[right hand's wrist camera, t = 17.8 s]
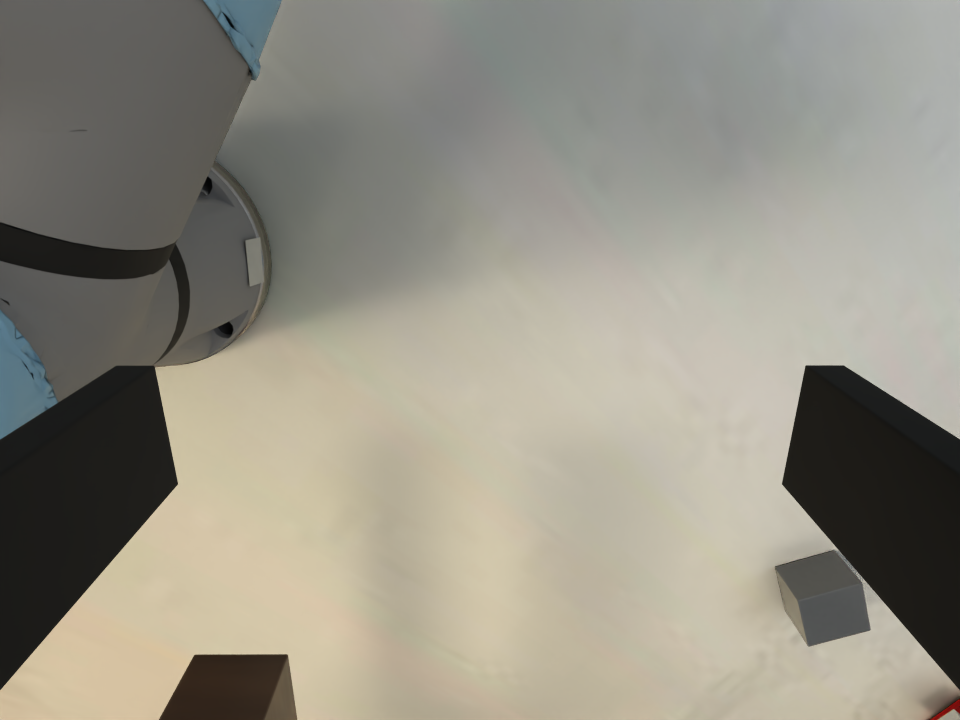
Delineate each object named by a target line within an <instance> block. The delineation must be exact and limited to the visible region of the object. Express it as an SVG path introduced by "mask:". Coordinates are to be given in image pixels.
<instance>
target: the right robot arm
mask: <svg viewBox="0 0 960 720" xmlns="http://www.w3.org/2000/svg"><path fill="white" fill-rule="evenodd" d="M281 1H282V0H0V690H1V689H2V687H3V686H4V685H5V684H6V683H7V682H8V680H9V679H10V678H11V677H12V676H13V675H14V674H15V672H16V671H17V670H18V669H19V668H20V667H21V665H22V664H23V663H24V662H25V661H26V660H27V658H28V657H29V656H30V655H31V654H32V653H33V651H34V650H35V649H36V648H37V647H38V646H39V645H40V643H41V642H42V641H43V640H44V639H45V638H46V636H47V635H48V634H49V633H50V632H51V631H52V629H53V628H54V627H55V626H56V625H57V624H58V623H59V621H60V620H61V619H62V618H63V617H64V616H65V614H66V613H67V612H68V611H69V610H70V609H71V607H72V606H73V605H74V604H75V603H76V602H77V601H78V599H79V598H80V597H81V596H82V595H83V594H84V592H85V591H86V590H87V589H88V588H89V587H90V585H91V584H92V583H93V582H94V581H95V580H96V579H97V577H98V576H99V575H100V574H101V573H102V572H103V570H104V569H105V568H106V567H107V566H108V565H109V563H110V562H111V561H112V560H113V559H114V558H115V556H116V555H117V554H118V553H119V552H120V551H121V550H122V548H123V547H124V546H125V545H126V544H127V543H128V541H129V540H130V539H131V538H132V537H133V536H134V534H135V533H136V532H137V531H138V530H139V529H140V528H141V526H142V525H143V524H144V523H145V522H146V521H147V519H148V518H149V517H150V516H151V515H152V514H153V512H154V511H155V510H156V509H157V508H158V507H159V506H160V504H161V503H162V502H163V501H164V500H165V499H166V497H167V496H168V495H169V494H170V493H171V492H172V490H173V489H174V488H175V487H176V486H177V485H178V482H177V477H176V472H175V467H174V462H173V457H172V452H171V447H170V442H169V437H168V432H167V427H166V422H165V417H164V412H163V407H162V402H161V397H160V392H159V387H158V381H157V376H156V371H155V367H163V366H172V365H182V364H189V363H193V362H197V361H200V360H203V359H206V358H208V357H210V356H212V355H214V354H216V353H218V352H220V351H221V350H223V349H224V348H226V347H227V346H228V345H230V344H231V343H232V342H233V341H234V340H236V339H237V338H238V337H239V336H240V335H242V334H243V333H244V332H245V331H246V330H247V329H248V328H249V327H250V325H251V324H252V323H253V322H254V320H255V319H256V317H257V316H258V314H259V312H260V311H261V308H262V306H263V304H264V302H265V299H266V296H267V293H268V289H269V285H270V278H271V252H270V246H269V241H268V237H267V233H266V230H265V227H264V225H263V222H262V219H261V217H260V215H259V213H258V211H257V209H256V207H255V206H254V204H253V202H252V200H251V199H250V197H249V196H248V194H247V193H246V192H245V190H244V189H243V188H242V187H241V185H240V184H239V183H238V182H237V181H236V179H235V178H234V177H233V176H232V175H231V174H230V173H229V172H228V171H226V170H225V169H224V168H223V167H222V166H221V165H219V164H218V163H217V162H215V158H216V156H217V154H218V152H219V150H220V147H221V145H222V143H223V141H224V139H225V136H226V134H227V132H228V130H229V127H230V125H231V123H232V121H233V119H234V116H235V114H236V112H237V110H238V108H239V105H240V103H241V101H242V99H243V97H244V94H245V92H246V90H247V88H248V86H249V83H250V81H251V79H252V80H256V79H257V77H258V75H259V73H260V67H261V66H260V63H259V58H260V55H261V53H262V50H263V47H264V45H265V42H266V40H267V37H268V34H269V32H270V29H271V27H272V24H273V22H274V19H275V17H276V14H277V11H278V9H279V6H280V4H281ZM782 485H783V486H784V487H785V488H786V489H787V490H788V492H789V493H790V494H791V495H792V496H793V497H794V499H795V500H796V501H797V502H798V503H799V504H800V506H801V507H802V508H803V509H804V510H805V511H806V512H807V514H808V515H809V516H810V517H811V518H812V519H813V521H814V522H815V523H816V524H817V525H818V526H819V528H820V529H821V530H822V531H823V532H824V533H825V534H826V536H827V537H828V538H829V539H830V540H831V541H832V543H833V544H834V545H835V546H836V547H837V548H838V550H839V551H840V552H841V553H842V554H843V555H844V556H845V558H846V559H847V560H848V561H849V562H850V563H851V565H852V566H853V567H854V568H855V569H856V570H857V572H858V573H859V574H860V575H861V576H862V577H863V579H864V580H865V581H866V582H867V583H868V584H869V585H870V587H871V588H872V589H873V590H874V591H875V592H876V594H877V595H878V596H879V597H880V598H881V599H882V601H883V602H884V603H885V604H886V605H887V606H888V607H889V609H890V610H891V611H892V612H893V613H894V614H895V616H896V617H897V618H898V619H899V620H900V621H901V623H902V624H903V625H904V626H905V627H906V628H907V629H908V631H909V632H910V633H911V634H912V635H913V636H914V638H915V639H916V640H917V641H918V642H919V643H920V645H921V646H922V647H923V648H924V649H925V650H926V651H927V653H928V654H929V655H930V656H931V657H932V658H933V660H934V661H935V662H936V663H937V664H938V665H939V667H940V668H941V669H942V670H943V671H944V672H945V674H946V675H947V676H948V677H949V678H950V679H951V680H952V682H953V683H954V684H955V685H956V686H957V687H958V689H959V690H960V439H958V438H957V437H955V436H954V435H952V434H950V433H949V432H947V431H946V430H944V429H943V428H941V427H939V426H938V425H936V424H935V423H933V422H932V421H930V420H928V419H927V418H925V417H924V416H922V415H921V414H919V413H917V412H916V411H914V410H913V409H911V408H910V407H908V406H906V405H905V404H903V403H902V402H900V401H899V400H897V399H895V398H894V397H892V396H891V395H889V394H888V393H886V392H884V391H883V390H881V389H880V388H878V387H877V386H875V385H873V384H872V383H870V382H869V381H867V380H866V379H864V378H862V377H861V376H859V375H858V374H856V373H855V372H853V371H851V370H850V369H848V368H847V367H845V366H805V371H804V376H803V381H802V386H801V392H800V397H799V402H798V407H797V412H796V417H795V422H794V427H793V432H792V437H791V442H790V447H789V452H788V457H787V462H786V467H785V472H784V477H783V482H782Z"/></svg>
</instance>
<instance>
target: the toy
mask: <svg viewBox="0 0 960 720" xmlns="http://www.w3.org/2000/svg"><path fill="white" fill-rule="evenodd" d="M930 720H960V699H959V700H957V701H956V702H954V703H953V704H952V705H950V706H949V707H947V708H946V709H945V710H943V711H942V712H940V713H939V714H938V715H936V716H935V717H933V718H932V719H930Z"/></svg>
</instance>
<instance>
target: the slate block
mask: <svg viewBox="0 0 960 720" xmlns="http://www.w3.org/2000/svg"><path fill="white" fill-rule="evenodd" d="M775 570H776V574H777V578H778V582H779V586H780V591H781V595H782V599H783V603H784V607H785V611H786V613H787V614H788V616H789V617H790V619H791V621H792V622H793V624H794V625H795V627H796V628H797V630H798V631H799V633H800V635H801V636H802V638H803V639H804V641H805V642H806V644H807V646H813V645H817V644H821V643H824V642H828V641H832V640H836V639H840V638H843V637H847V636H851V635H855V634H859V633H862V632H866V631H870V630H871V629H870V624H869V618H868V613H867V607H866V602H865V596H864V590H863V585H862V582H861V581H860V580H859V579H858V578H857V576H856V575H855V574H854V573H853V572H852V571H851V569H850V568H849V567H848V566H847V565H846V564H845V562H844V561H843V560H842V559H841V558H840V556H839V555H838V554H837V553H836V552H835V551H830V552H827V553H823V554H819V555H816V556H812V557H809V558H805V559H802V560H798V561H794V562H791V563H787V564H784V565H780V566H777V567H775Z"/></svg>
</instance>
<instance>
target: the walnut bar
mask: <svg viewBox="0 0 960 720" xmlns="http://www.w3.org/2000/svg"><path fill="white" fill-rule="evenodd" d="M159 720H297V715H296V708H295V701H294V694H293V687H292V680H291V673H290V666H289V659H288V655H287V654H279V655H194V657H193V658H192V660H191V662H190V664H189V666H188V668H187V669H186V671H185V673H184V675H183V677H182V679H181V680H180V682H179V684H178V686H177V688H176V689H175V691H174V693H173V695H172V697H171V699H170V700H169V702H168V704H167V706H166V708H165V710H164V711H163V713H162V715H161V717H160V719H159Z"/></svg>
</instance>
